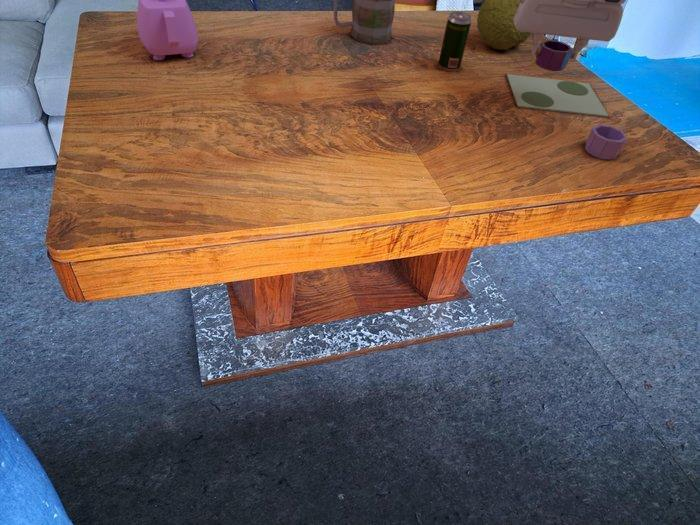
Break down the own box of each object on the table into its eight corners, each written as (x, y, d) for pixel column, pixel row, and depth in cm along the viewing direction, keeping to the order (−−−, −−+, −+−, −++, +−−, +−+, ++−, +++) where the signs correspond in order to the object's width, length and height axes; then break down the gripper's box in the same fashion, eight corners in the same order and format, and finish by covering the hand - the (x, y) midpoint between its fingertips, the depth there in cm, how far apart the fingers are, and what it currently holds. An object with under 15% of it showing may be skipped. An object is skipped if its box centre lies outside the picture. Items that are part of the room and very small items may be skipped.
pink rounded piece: (208, 65, 112) (201, 4, 104) (149, 71, 108) (136, 8, 99) (189, 31, 125) (181, -26, 116) (135, 35, 121) (123, -24, 112)
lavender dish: (611, 144, 103) (620, 126, 100) (621, 161, 98) (630, 143, 96) (581, 141, 103) (589, 123, 100) (589, 157, 98) (598, 139, 96)
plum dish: (560, 60, 111) (567, 41, 108) (567, 72, 106) (575, 53, 103) (532, 57, 110) (539, 38, 108) (538, 69, 106) (545, 50, 103)
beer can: (463, 71, 122) (476, 19, 114) (443, 72, 121) (454, 20, 112) (454, 62, 126) (466, 10, 117) (434, 63, 124) (444, 11, 116)
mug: (389, 30, 137) (396, -19, 129) (392, 46, 130) (399, -5, 121) (331, 25, 136) (334, -25, 128) (331, 41, 129) (334, -11, 120)
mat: (588, 84, 123) (589, 82, 123) (608, 117, 111) (609, 115, 111) (506, 75, 123) (507, 73, 122) (517, 107, 111) (518, 104, 111)
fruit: (528, 63, 129) (517, 7, 119) (476, 66, 138) (461, 14, 127) (549, 25, 135) (541, -31, 125) (498, 31, 144) (486, -22, 134)
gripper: (528, -17, 95) (506, 56, 105) (636, -4, 95) (604, 68, 105) (523, -27, 100) (502, 44, 109) (626, -15, 100) (596, 55, 109)
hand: (553, 56), depth 107 cm, fingers closed on plum dish, 6 cm apart
